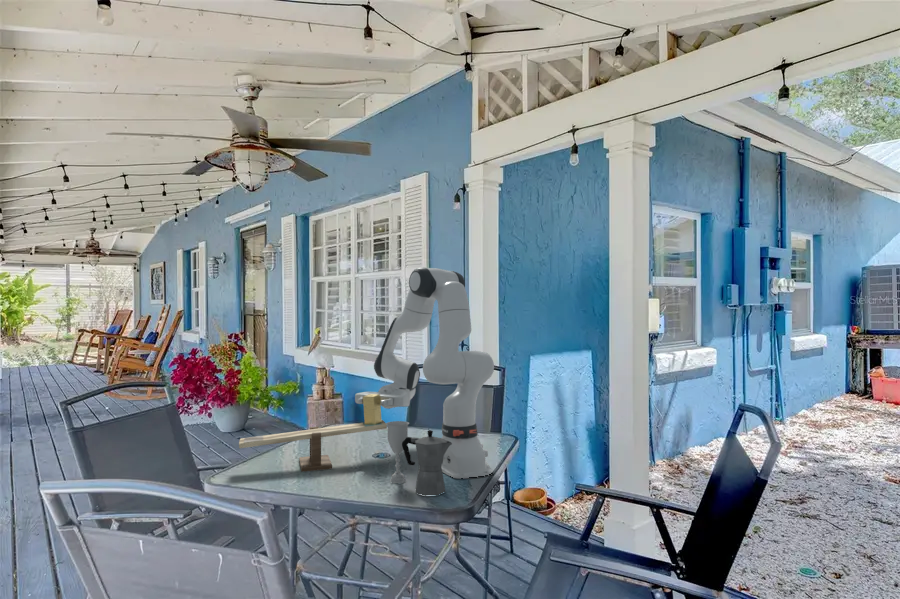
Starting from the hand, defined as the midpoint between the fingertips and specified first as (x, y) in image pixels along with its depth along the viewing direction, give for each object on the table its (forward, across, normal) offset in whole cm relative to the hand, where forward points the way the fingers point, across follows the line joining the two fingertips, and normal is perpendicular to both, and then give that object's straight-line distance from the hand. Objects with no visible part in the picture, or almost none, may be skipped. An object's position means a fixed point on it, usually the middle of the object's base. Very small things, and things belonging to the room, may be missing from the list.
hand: (371, 402), depth 192 cm
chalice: (+18, +20, +21) cm, 34 cm away
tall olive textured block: (-1, 0, +8) cm, 8 cm away
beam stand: (+12, -15, +20) cm, 28 cm away
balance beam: (+12, -15, +10) cm, 22 cm away
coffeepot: (+23, +32, +21) cm, 45 cm away
